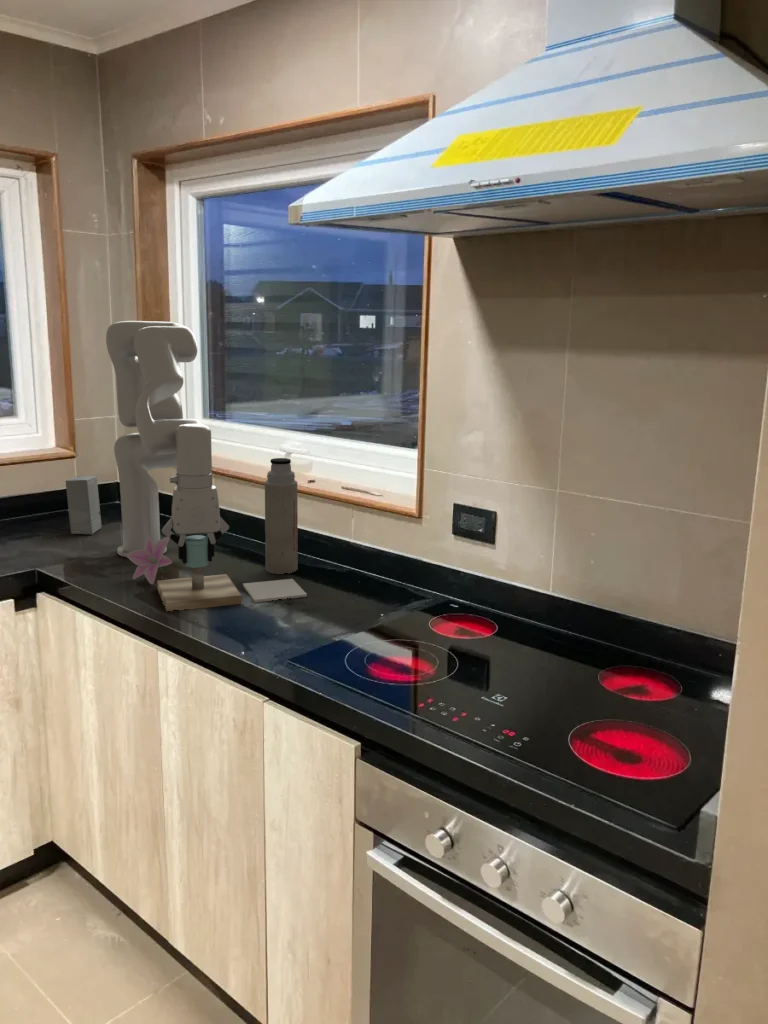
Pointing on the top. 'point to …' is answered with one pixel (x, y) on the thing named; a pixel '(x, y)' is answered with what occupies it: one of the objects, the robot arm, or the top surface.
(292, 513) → the thermos bottle
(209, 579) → the post block
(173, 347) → the robot arm
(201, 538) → the cap
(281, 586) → the grey mat
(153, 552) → the lily
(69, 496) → the skincare box
